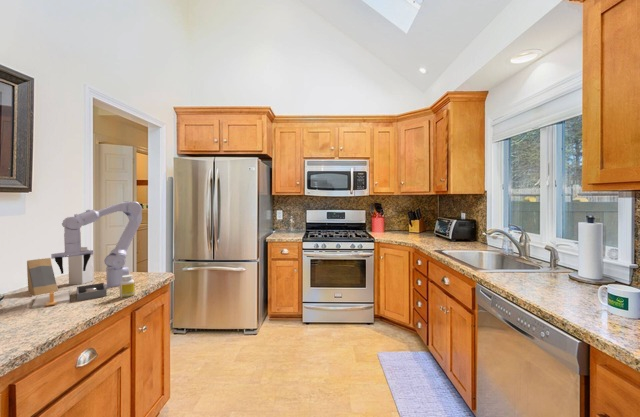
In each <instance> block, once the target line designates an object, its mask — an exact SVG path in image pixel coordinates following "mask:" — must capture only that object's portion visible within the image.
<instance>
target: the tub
mask: <svg viewBox="0 0 640 417" xmlns="http://www.w3.org/2000/svg"><path fill="white" fill-rule="evenodd" d="M105 284H106V283H104V282H100V283H99V282H98V283H95V284H94V283H93V284H87V285H80V286H76V301H77V302H81V301H85V300H92V299H96V298H104V297H107V296H108V295H107V288H106V286H105ZM90 287H97V291H92V292H86V288H90Z"/></svg>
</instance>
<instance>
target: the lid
mask: <svg viewBox="0 0 640 417" xmlns="http://www.w3.org/2000/svg"><path fill="white" fill-rule="evenodd" d="M70 301H71V290H68V291H62V292H57V293H55V292H54V291H50V293H47V294H41V295H36V296H35V298H34V301H33V302H32V306H31V308H32V309H35V308H41V307H49V306H54V305H59V304H65V303H70Z"/></svg>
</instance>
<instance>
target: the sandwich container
mask: <svg viewBox="0 0 640 417" xmlns="http://www.w3.org/2000/svg"><path fill="white" fill-rule="evenodd" d="M26 272H27V274H26V275H27V288H28V289H27V291H28V293H29V294H30V295H32V296H35V297H36V296H42V295H48V294H50V291H54V293H55V292H57V293H58V292H59V289H58V285H57V280H56V277H55V272H54V268H53V263H52V259H51V257H47V258H37V259H28V260H27V261H26Z"/></svg>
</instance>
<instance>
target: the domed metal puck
mask: <svg viewBox="0 0 640 417" xmlns="http://www.w3.org/2000/svg"><path fill="white" fill-rule="evenodd" d="M92 290H97V287H90V288H86V291H92Z"/></svg>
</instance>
